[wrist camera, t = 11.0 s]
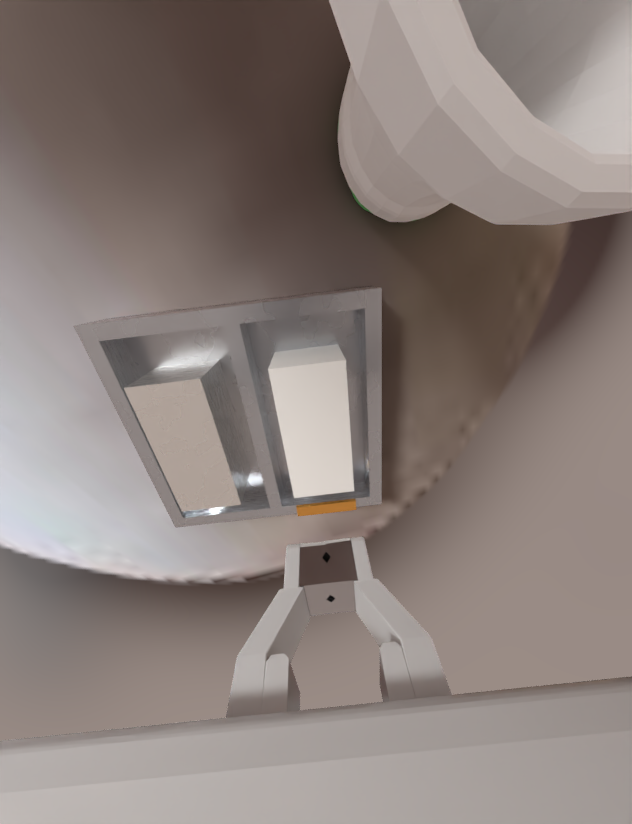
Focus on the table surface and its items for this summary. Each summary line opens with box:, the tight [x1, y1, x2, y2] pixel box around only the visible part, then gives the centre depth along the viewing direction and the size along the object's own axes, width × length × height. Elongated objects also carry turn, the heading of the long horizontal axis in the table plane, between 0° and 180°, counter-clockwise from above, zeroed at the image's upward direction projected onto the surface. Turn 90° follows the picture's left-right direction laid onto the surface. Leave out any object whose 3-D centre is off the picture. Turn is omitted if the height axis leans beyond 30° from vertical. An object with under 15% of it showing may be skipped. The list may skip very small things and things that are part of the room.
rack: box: [74, 286, 382, 527], centre depth 20 cm, size 17×18×5 cm
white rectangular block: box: [268, 344, 354, 498], centre depth 19 cm, size 10×4×4 cm, turn 6°
